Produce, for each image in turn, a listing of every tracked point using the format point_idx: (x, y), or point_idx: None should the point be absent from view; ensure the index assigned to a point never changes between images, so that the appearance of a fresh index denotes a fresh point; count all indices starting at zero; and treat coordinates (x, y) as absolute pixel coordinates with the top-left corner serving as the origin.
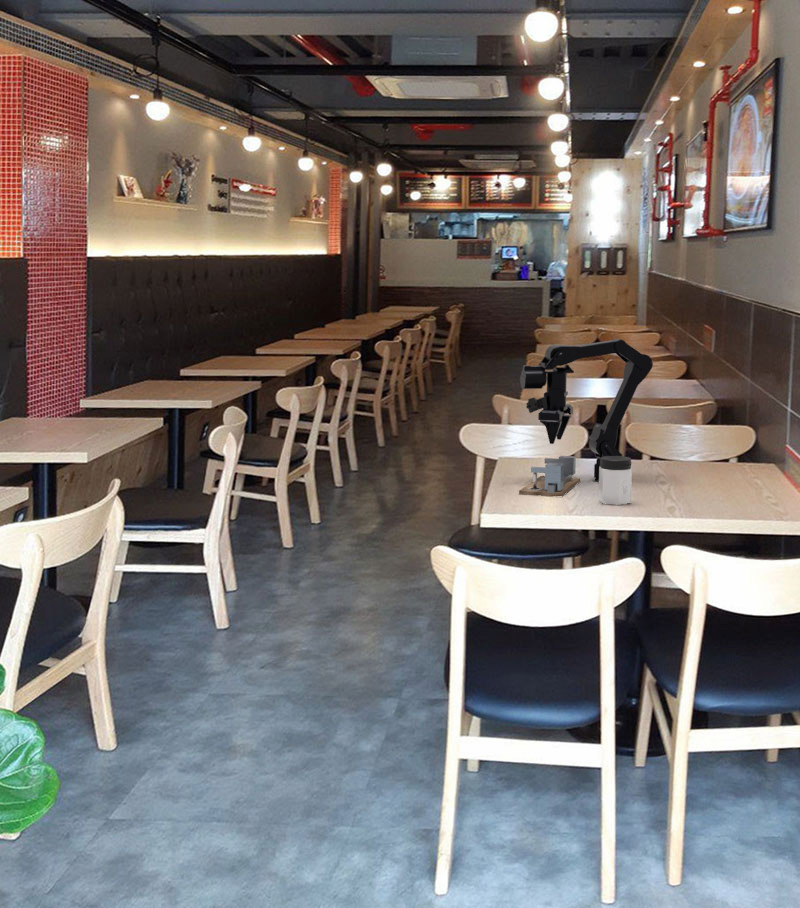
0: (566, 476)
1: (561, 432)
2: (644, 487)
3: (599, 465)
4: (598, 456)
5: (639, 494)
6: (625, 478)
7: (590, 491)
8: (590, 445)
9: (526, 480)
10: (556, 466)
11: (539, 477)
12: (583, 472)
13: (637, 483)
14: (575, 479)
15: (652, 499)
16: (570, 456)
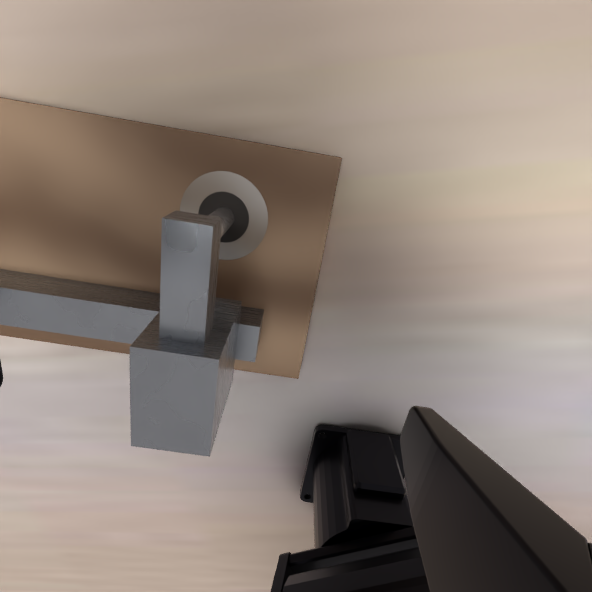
0: (113, 339)
1: (428, 537)
2: (225, 564)
3: (339, 502)
4: (400, 540)
5: (85, 550)
6: None
7: (68, 412)
8: (398, 589)
9: (281, 59)
10: None
11: (278, 155)
12: (570, 373)
13: (301, 549)
14: (257, 358)
15: (15, 576)
16: (198, 425)
